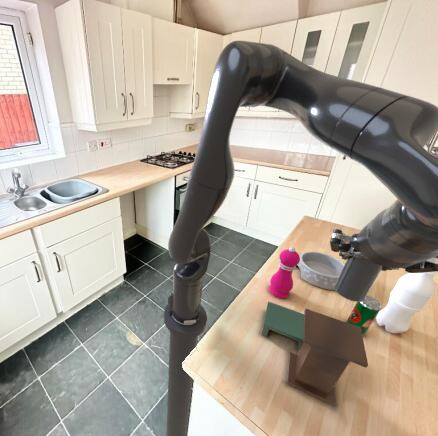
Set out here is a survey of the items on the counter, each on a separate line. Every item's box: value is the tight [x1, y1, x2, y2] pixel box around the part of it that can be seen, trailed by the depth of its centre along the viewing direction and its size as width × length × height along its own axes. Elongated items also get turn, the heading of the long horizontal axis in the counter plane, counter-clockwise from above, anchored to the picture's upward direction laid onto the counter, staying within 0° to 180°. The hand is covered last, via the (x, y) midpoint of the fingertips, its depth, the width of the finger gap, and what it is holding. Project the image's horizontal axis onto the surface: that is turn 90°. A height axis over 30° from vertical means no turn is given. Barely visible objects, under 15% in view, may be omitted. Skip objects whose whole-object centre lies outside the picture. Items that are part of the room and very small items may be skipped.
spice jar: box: [334, 256, 383, 303], centre depth 47 cm, size 5×5×11 cm
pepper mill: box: [269, 246, 300, 299], centre depth 84 cm, size 7×7×20 cm
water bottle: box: [375, 271, 438, 334], centre depth 70 cm, size 7×7×25 cm
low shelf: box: [260, 301, 304, 351], centre depth 74 cm, size 12×10×5 cm
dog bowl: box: [296, 250, 345, 291], centre depth 96 cm, size 17×18×5 cm
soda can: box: [345, 295, 382, 335], centre depth 72 cm, size 5×5×12 cm
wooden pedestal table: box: [286, 308, 369, 407], centre depth 58 cm, size 11×10×18 cm
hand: (363, 259), depth 47 cm, fingers closed on spice jar, 5 cm apart
